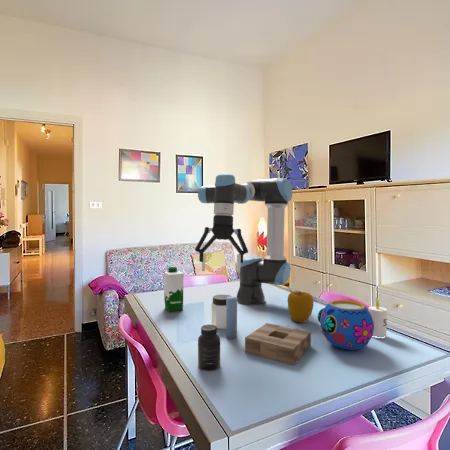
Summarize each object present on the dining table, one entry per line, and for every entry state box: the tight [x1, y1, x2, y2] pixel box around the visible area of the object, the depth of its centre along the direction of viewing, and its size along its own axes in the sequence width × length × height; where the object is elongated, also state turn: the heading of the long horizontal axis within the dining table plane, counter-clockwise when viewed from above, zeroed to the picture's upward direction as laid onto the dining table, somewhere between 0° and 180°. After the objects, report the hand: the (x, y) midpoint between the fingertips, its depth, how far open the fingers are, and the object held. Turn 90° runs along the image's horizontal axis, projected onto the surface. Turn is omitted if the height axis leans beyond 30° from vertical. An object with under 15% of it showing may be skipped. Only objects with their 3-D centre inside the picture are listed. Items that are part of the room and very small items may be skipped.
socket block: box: [244, 322, 312, 366], centre depth 110 cm, size 17×17×5 cm
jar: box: [211, 294, 233, 330], centre depth 133 cm, size 9×8×12 cm
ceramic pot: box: [317, 299, 374, 351], centre depth 112 cm, size 18×18×15 cm
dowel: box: [225, 296, 238, 340], centre depth 120 cm, size 4×4×15 cm
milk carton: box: [163, 266, 184, 313], centre depth 155 cm, size 9×9×20 cm
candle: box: [368, 296, 388, 337], centre depth 122 cm, size 6×6×15 cm
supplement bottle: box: [197, 324, 221, 371], centre depth 98 cm, size 7×7×12 cm
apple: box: [287, 290, 314, 323], centre depth 140 cm, size 11×11×13 cm
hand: (220, 271), depth 121 cm, fingers open, 13 cm apart
